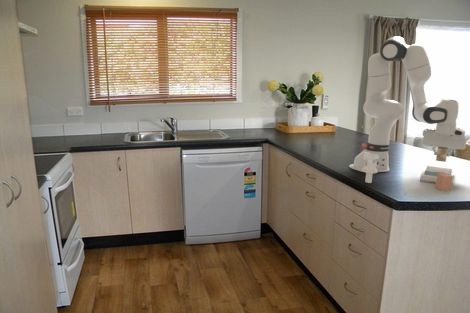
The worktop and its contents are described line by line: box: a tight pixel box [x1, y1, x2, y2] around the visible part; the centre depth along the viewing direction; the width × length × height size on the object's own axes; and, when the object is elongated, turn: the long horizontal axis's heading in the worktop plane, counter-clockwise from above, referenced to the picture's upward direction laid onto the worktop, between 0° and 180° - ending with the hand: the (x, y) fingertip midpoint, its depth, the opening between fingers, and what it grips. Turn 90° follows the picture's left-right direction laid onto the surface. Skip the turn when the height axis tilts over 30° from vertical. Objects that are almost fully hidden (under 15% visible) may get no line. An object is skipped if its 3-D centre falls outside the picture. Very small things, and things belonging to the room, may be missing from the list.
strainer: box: [362, 152, 379, 184], centre depth 175 cm, size 7×7×15 cm
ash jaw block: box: [435, 147, 449, 163], centre depth 189 cm, size 4×4×7 cm
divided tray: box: [419, 164, 455, 187], centre depth 186 cm, size 25×14×3 cm, turn 147°
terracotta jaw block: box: [434, 173, 454, 191], centre depth 167 cm, size 4×4×7 cm
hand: (441, 155), depth 189 cm, fingers closed on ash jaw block, 4 cm apart
